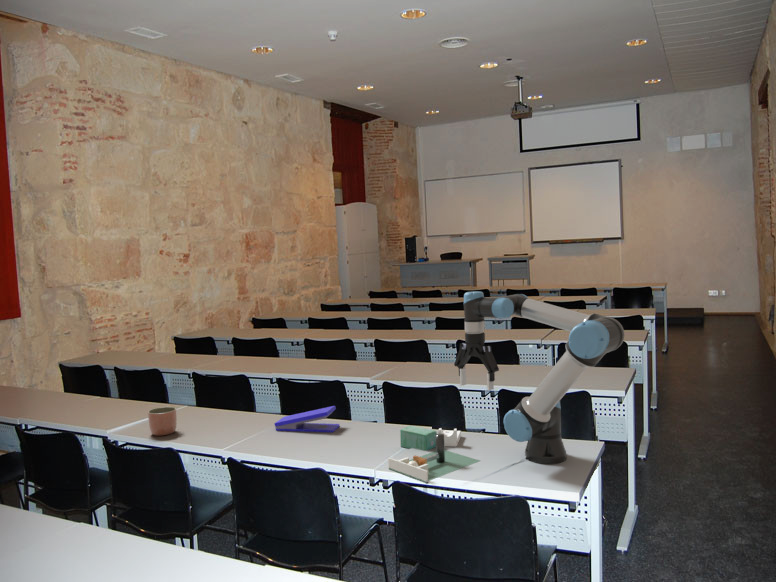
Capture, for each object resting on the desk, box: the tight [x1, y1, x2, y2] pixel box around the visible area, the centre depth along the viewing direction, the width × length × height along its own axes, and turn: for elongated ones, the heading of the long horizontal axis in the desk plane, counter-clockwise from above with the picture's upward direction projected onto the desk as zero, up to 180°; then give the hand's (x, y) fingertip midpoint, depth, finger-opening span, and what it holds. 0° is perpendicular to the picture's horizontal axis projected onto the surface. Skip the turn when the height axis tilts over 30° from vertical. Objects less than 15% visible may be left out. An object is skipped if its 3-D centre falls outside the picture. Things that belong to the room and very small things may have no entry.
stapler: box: [274, 405, 340, 433], centre depth 288 cm, size 12×28×10 cm, turn 77°
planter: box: [147, 406, 178, 437], centre depth 290 cm, size 12×12×11 cm
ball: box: [408, 461, 418, 467], centre depth 225 cm, size 4×4×4 cm
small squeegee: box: [412, 433, 446, 466], centre depth 231 cm, size 6×13×10 cm, turn 131°
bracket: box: [437, 427, 462, 447], centre depth 258 cm, size 13×7×8 cm, turn 166°
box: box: [399, 425, 438, 451], centre depth 254 cm, size 7×14×8 cm, turn 51°
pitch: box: [387, 449, 481, 484], centre depth 232 cm, size 20×28×4 cm
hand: (476, 387), depth 240 cm, fingers open, 13 cm apart
